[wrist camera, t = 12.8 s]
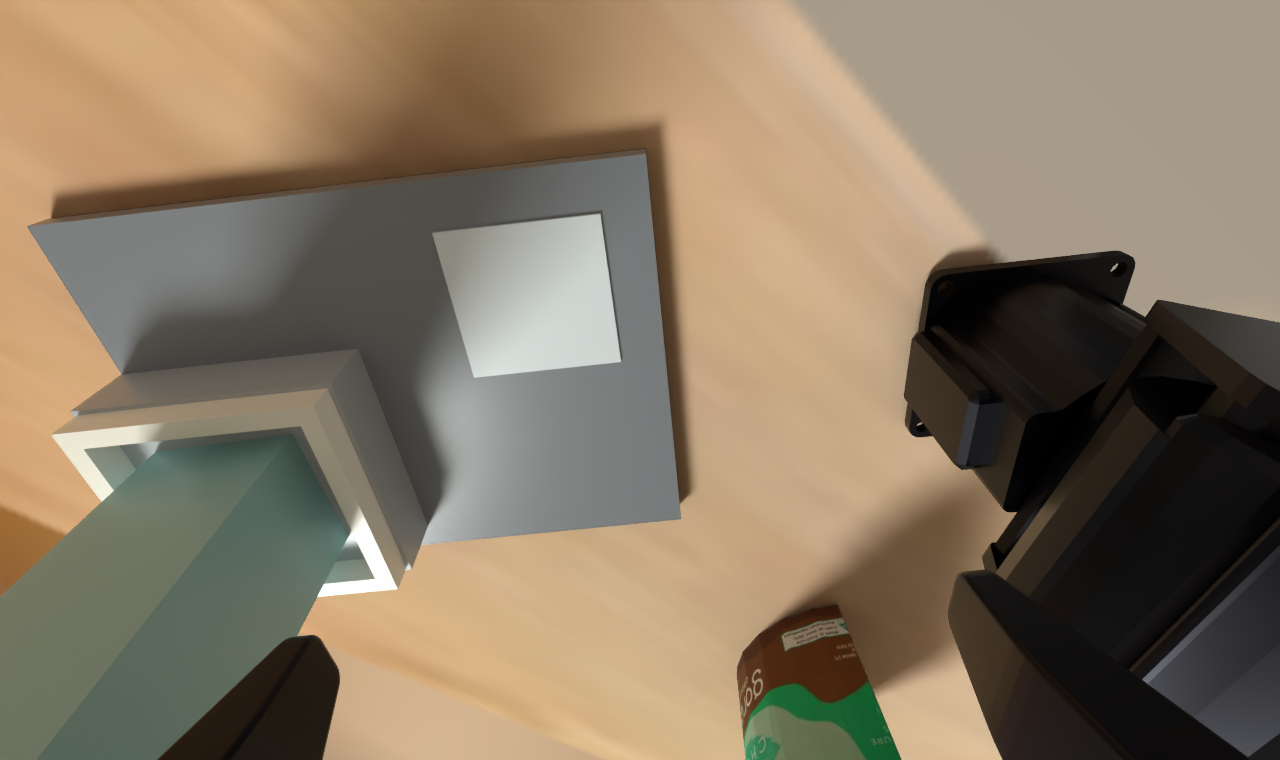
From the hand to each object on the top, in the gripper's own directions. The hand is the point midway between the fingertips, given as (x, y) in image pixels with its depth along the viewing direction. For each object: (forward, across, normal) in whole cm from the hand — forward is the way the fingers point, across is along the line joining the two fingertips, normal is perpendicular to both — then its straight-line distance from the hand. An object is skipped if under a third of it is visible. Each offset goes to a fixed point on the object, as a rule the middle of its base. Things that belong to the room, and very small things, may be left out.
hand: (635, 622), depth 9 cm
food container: (+13, -5, +22) cm, 26 cm away
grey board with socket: (+13, +8, +3) cm, 16 cm away
